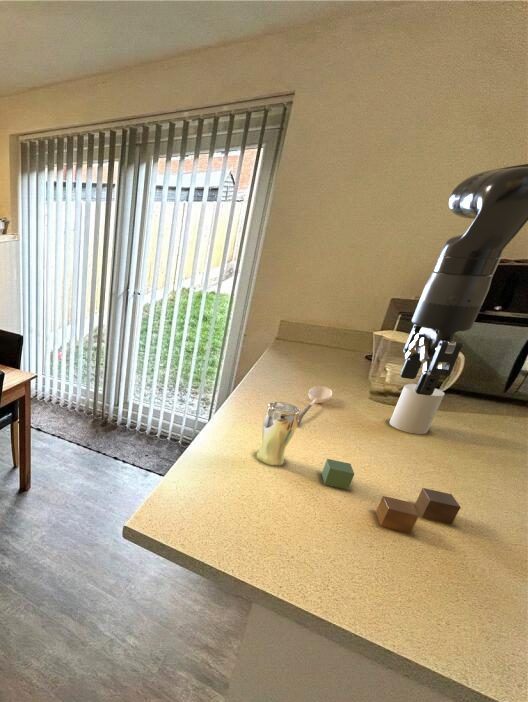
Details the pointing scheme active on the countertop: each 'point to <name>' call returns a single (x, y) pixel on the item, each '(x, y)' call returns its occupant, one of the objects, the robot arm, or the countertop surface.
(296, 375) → the countertop surface
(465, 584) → the countertop surface
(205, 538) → the countertop surface
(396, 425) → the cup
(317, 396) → the ladle
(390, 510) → the oak block
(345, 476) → the sage block
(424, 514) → the walnut block
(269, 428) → the beer glass
